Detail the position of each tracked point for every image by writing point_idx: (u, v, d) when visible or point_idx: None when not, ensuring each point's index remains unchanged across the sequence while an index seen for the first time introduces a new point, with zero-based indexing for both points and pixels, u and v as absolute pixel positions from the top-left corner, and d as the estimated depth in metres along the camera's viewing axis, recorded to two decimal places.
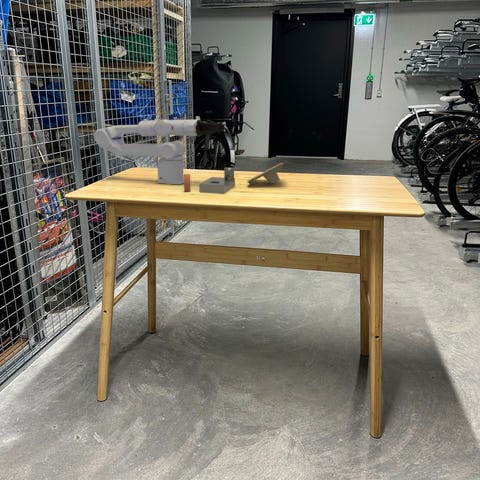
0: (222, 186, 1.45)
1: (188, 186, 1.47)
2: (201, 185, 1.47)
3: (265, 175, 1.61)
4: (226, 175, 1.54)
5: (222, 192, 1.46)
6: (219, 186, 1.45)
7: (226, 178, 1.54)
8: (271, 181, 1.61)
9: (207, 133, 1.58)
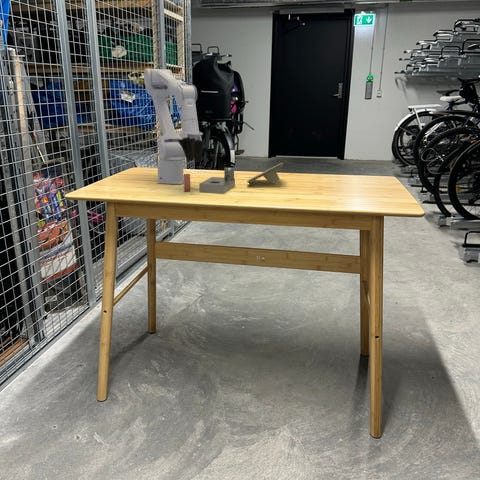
0: (222, 186, 1.45)
1: (188, 186, 1.47)
2: (201, 185, 1.47)
3: (265, 175, 1.61)
4: (226, 175, 1.54)
5: (222, 192, 1.46)
6: (219, 186, 1.45)
7: (226, 178, 1.54)
8: (271, 181, 1.62)
9: None
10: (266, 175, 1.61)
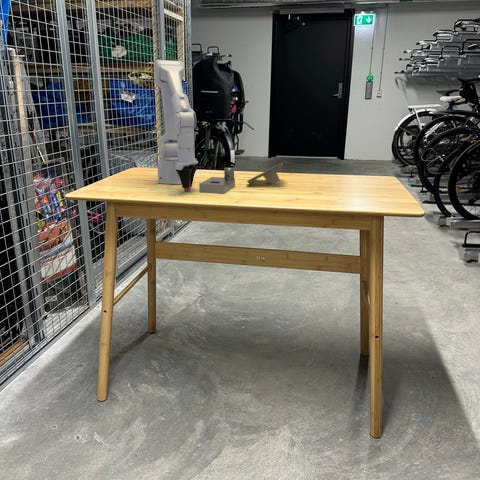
0: (222, 186, 1.45)
1: None
2: (201, 185, 1.47)
3: (265, 175, 1.62)
4: (226, 175, 1.54)
5: (222, 192, 1.46)
6: (219, 186, 1.45)
7: (226, 178, 1.54)
8: (271, 181, 1.62)
9: None
10: (266, 175, 1.62)
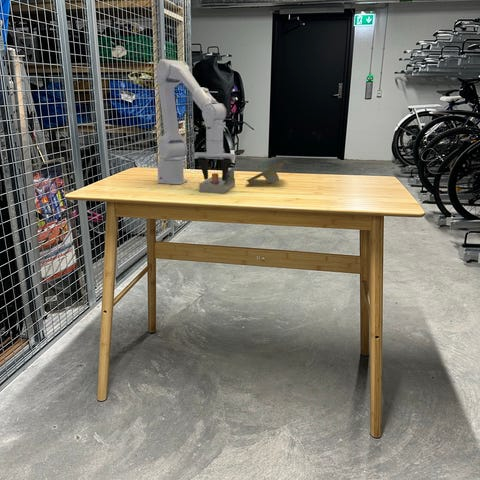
0: (222, 186, 1.45)
1: None
2: (201, 185, 1.47)
3: (264, 175, 1.62)
4: None
5: (222, 192, 1.46)
6: (219, 186, 1.45)
7: (226, 178, 1.54)
8: (270, 181, 1.62)
9: None
10: (265, 175, 1.62)
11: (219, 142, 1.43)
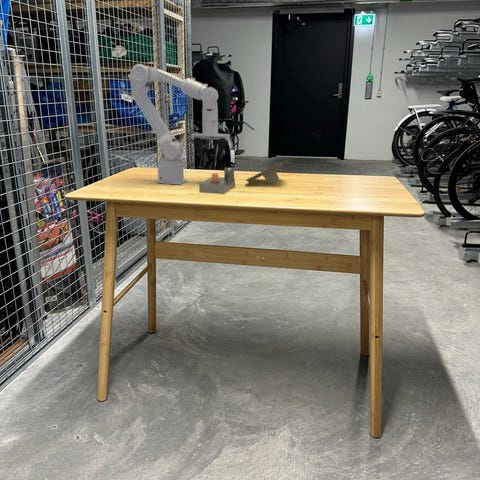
0: (222, 186, 1.45)
1: None
2: (201, 185, 1.47)
3: (264, 174, 1.62)
4: (226, 175, 1.54)
5: (222, 192, 1.46)
6: (219, 186, 1.45)
7: (226, 178, 1.54)
8: (270, 180, 1.63)
9: None
10: (265, 175, 1.62)
11: (214, 123, 1.54)
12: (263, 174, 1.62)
